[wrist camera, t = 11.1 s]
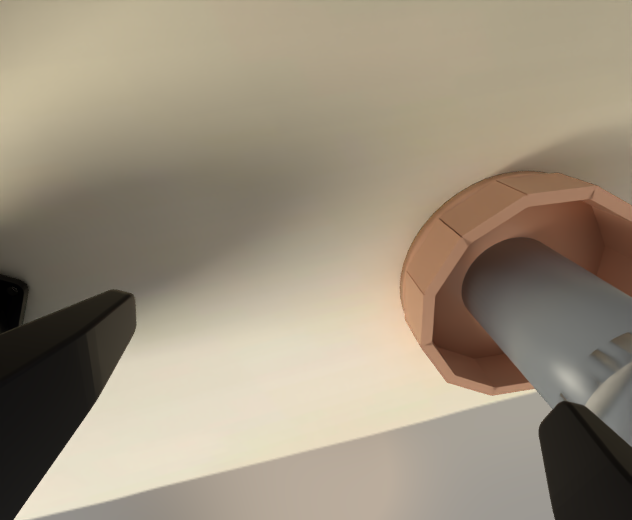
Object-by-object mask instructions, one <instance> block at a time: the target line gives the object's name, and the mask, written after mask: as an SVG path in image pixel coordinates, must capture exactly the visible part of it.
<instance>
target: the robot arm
mask: <svg viewBox="0 0 632 520" xmlns="http://www.w3.org/2000/svg"><path fill="white" fill-rule="evenodd" d="M12 287H14V288H16V289H17V290H18V292H17V291H15V290H13V288H12ZM28 291H29V290H28V286H27V284H26V283H25V282H23V281H21V280H19V279H16V278H12V277H9V276H5V275H2V274H0V520H14V518H15V517H16V515H17V514H18V512H19V511H20V510H21V508H22V507H23V505H24V504H25V502H26V501H27V500H28V498H29V497H30V495H31V494H32V492H33V491H34V490H35V488H36V487H37V485H38V484H39V482H40V481H41V480H42V478H43V477H44V475H45V474H46V473H47V471H48V470H49V468H50V467H51V465H52V464H53V463H54V461H55V460H56V458H57V457H58V455H59V454H60V453H61V451H62V450H63V448H64V447H65V445H66V444H67V443H68V441H69V440H70V438H71V437H72V435H73V434H74V433H75V431H76V430H77V428H78V427H79V425H80V424H81V423H82V421H83V420H84V418H85V417H86V415H87V414H88V413H89V411H90V410H91V408H92V407H93V405H94V404H95V402H96V401H97V399H98V397H99V396H100V394H101V392H102V390H103V389H104V387H105V385H106V383H107V381H108V380H109V378H110V376H111V374H112V372H113V371H114V369H115V367H116V365H117V363H118V362H119V360H120V358H121V356H122V354H123V353H124V351H125V349H126V347H127V345H128V344H129V342H130V340H131V338H132V336H133V334H134V332H135V329H136V305H135V297H134V295H133V294H131V293H128V292H124V291H120V290H115V289H113V290H109V291H106V292H104V293H101V294H99V295H96V296H94V297H91V298H89V299H86V300H84V301H81V302H79V303H76V304H74V305H71V306H69V307H66V308H64V309H61V310H59V311H57V312H54V313H52V314H49V315H47V316H44V317H42V318H39V319H37V320H34V321H32V322H29V323H27V324H24V325H22V324H23V319H24V313H25V307H26V302H27V296H28ZM539 439H540V444H541V451H542V456H543V461H544V467H545V472H546V478H547V483H548V488H549V494H550V499H551V504H552V509H553V513H554V517H555V520H632V447H631V446H630V445H629V444H628V443H627V442H626V441H625V440H623V439H622V438H621V437H620V436H619V435H618V434H617V433H615V432H614V431H613V430H612V429H611V428H610V427H609V426H608V425H606V424H605V423H604V422H603V421H602V420H601V419H600V418H599V417H597V416H596V415H595V414H594V413H593V412H592V411H591V410H590V409H588V408H587V407H586V406H584V405H581V404H578V403H574V402H570V401H561V402H559V403H558V404H557V405H556V406H555V407H554V408H553V410H552V411H551V412H550V413H549V414H548V415H547V416H546V417H545V419H544V420H543V421H542V422H541V424H540V426H539Z"/></svg>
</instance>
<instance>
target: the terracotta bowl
mask: <svg viewBox="0 0 632 520" xmlns="http://www.w3.org/2000/svg"><path fill="white" fill-rule="evenodd" d="M516 237H526V238H532V239H535V240H538V241H540V242H541V243H543V244H545V245H546V246H548V247H550V248H551V249H553V250H554V251H556V252H558V253H559V254H561V255H563V256H564V257H566V258H568V259H569V260H571V261H573V262H574V263H576V264H578V265H579V266H581V267H582V268H584V269H586V270H587V271H589V272H591V273H592V274H594V275H596V276H597V277H599V278H601V279H602V280H604V281H606V282H607V283H609V284H610V285H612V286H614V287H615V288H617V289H619V290H620V291H622V292H624V293H625V294H627V295H629V296H630V297H632V205H630V204H628V203H627V202H625V201H623V200H621V199H620V198H618V197H616V196H614V195H613V194H611V193H609V192H607V191H606V190H604V189H602V188H600V187H599V186H596V185H593V184H590V183H587V182H584V181H581V180H578V179H575V178H572V177H569V176H566V175H563V174H560V173H549V174H548V173H544V172H535V171H518V172H510V173H505V174H500V175H497V176H494V177H490V178H487V179H485V180H482V181H480V182H478V183H476V184H473V185H471V186H470V187H468V188H466V189H464V190H463V191H461V192H459V193H458V194H456V195H455V196H454V197H452V198H451V199H450V200H448V201H447V202H446V203H444V204H443V205H442V206H441V207H440V208H439V209H438V210H437V211H436V212H435V213H434V214H433V215H432V216H431V217H430V218H429V220H428V221H427V222H426V223H425V224H424V225H423V227H422V228H421V230H420V231H419V233H418V234H417V236H416V237H415V239H414V241H413V243H412V244H411V246H410V248H409V250H408V253H407V255H406V258H405V261H404V264H403V268H402V272H401V280H400V298H401V303H402V307H403V310H404V313H405V320H406V322H407V324H408V326H409V327H410V329H411V331H412V333H413V334H414V336H415V338H416V340H417V341H418V343H419V345H420V347H421V348H422V350H423V351H424V352H425V354H426V355H427V356H428V358H429V359H430V360H431V362H432V363H433V364H434V366H435V367H436V368H437V370H438V371H439V373H440V374H441V375H442V377H443V378H444V379H445V381H446V382H447V383H450V384H454V385H457V386H461V387H464V388H467V389H471V390H474V391H477V392H481V393H484V394H487V395H492V396H493V395H499V394H505V393H511V392H517V391H524V390H530V389H535V388H534V387H533V386H532V385H531V383H530V382H529V381H528V380H527V379H526V378H525V376H524V375H523V374H522V373H521V372H520V371H519V369H518V368H517V367H516V366H515V365H514V364H513V362H512V361H511V360H510V359H509V358H508V357H507V355H506V354H505V353H504V352H503V351H502V350H501V348H500V347H499V346H498V345H497V344H496V343H495V341H494V340H493V339H492V338H491V337H490V335H489V334H488V333H487V332H486V331H485V330H484V328H483V327H482V326H481V325H480V324H479V323H478V321H477V320H476V319H475V318H474V317H473V316H472V314H471V313H470V312H469V311H468V310H467V308H466V307H465V305H464V303H463V299H462V293H461V291H462V283H463V280H464V277H465V274H466V272H467V270H468V269H469V267H470V266H471V264H472V263H473V262H474V260H475V259H476V258H477V257H478V256H479V255H480V254H481V253H483V252H484V251H485V250H486V249H488V248H489V247H491V246H493V245H494V244H496V243H498V242H501V241H503V240H507V239H510V238H516Z"/></svg>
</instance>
